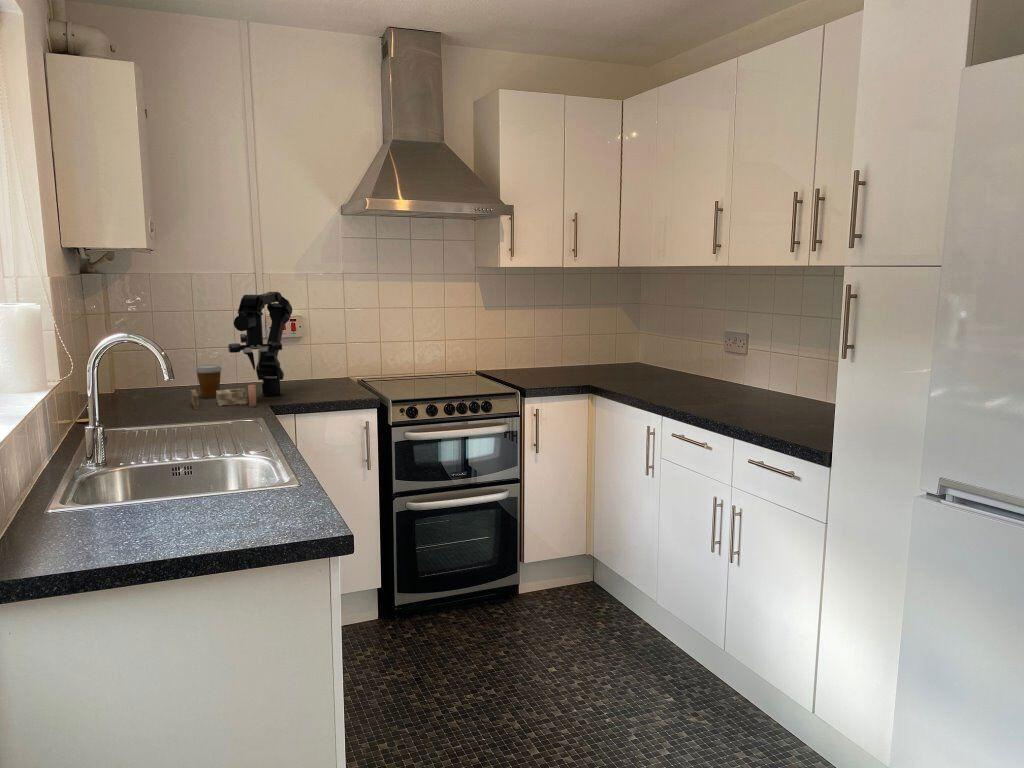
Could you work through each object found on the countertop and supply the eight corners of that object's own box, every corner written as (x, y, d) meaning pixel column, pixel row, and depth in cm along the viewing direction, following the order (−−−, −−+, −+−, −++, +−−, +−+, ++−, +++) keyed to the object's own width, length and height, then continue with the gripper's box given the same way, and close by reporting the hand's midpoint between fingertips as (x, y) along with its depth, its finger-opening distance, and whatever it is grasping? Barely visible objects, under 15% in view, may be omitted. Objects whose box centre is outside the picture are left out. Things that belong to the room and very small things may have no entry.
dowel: (256, 405, 279) (254, 384, 277) (257, 406, 277) (255, 385, 275) (248, 406, 278) (247, 384, 276) (249, 407, 275) (248, 385, 274)
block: (244, 399, 289) (244, 388, 288) (247, 403, 282) (246, 391, 281) (216, 402, 285) (216, 390, 284) (219, 406, 278) (218, 394, 277)
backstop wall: (196, 402, 284) (195, 389, 283) (199, 409, 272) (198, 395, 271) (191, 403, 283) (190, 389, 282) (194, 409, 272) (193, 396, 271)
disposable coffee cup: (206, 399, 289) (203, 368, 287) (192, 396, 295) (190, 366, 293) (228, 396, 297) (226, 365, 294) (214, 393, 302) (212, 363, 300)
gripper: (276, 325, 294) (278, 365, 297) (225, 327, 286) (227, 368, 288) (281, 328, 284) (283, 369, 287) (228, 330, 276) (231, 372, 279)
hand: (256, 369), depth 285 cm, fingers closed
